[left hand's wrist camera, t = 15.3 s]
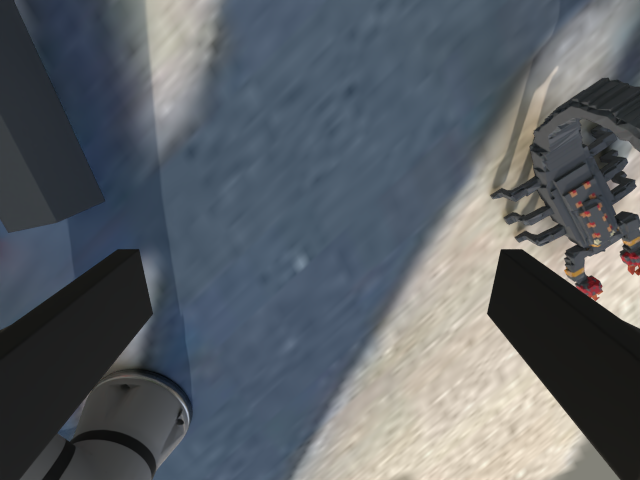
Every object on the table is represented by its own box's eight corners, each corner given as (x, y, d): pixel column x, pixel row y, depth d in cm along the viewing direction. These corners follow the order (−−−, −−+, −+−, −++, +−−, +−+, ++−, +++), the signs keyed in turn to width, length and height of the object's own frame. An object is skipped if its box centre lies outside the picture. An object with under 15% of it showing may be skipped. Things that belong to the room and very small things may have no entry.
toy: (569, 49, 34) (814, -7, 17) (651, 242, 42) (875, 334, 25) (453, 131, 37) (565, 153, 20) (550, 298, 45) (689, 414, 28)
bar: (105, 201, 41) (57, 222, 33) (65, 209, 41) (8, 233, 33) (9, -9, 33) (-82, -43, 25) (-40, 4, 33) (-144, -25, 26)
